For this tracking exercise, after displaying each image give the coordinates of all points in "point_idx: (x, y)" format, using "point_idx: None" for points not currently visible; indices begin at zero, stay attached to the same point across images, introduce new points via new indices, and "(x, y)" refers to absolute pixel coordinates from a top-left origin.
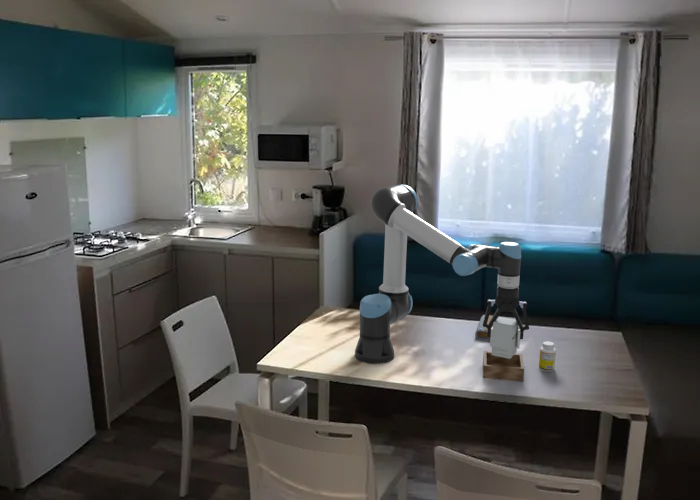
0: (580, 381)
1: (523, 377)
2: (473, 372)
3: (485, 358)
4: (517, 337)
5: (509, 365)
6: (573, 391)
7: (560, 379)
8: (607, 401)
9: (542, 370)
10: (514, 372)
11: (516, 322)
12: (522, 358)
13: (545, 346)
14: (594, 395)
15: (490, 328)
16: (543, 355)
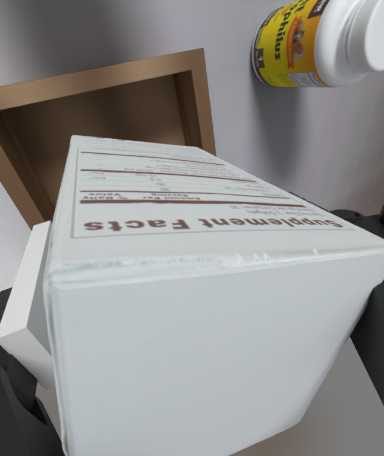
0: (351, 123)
1: None
2: (5, 231)
3: (34, 216)
4: None
5: (133, 100)
6: (319, 201)
7: (305, 135)
8: (367, 213)
9: (261, 80)
10: None
11: (349, 330)
12: (210, 121)
13: (359, 68)
14: (354, 198)
15: (35, 401)
16: (309, 82)
